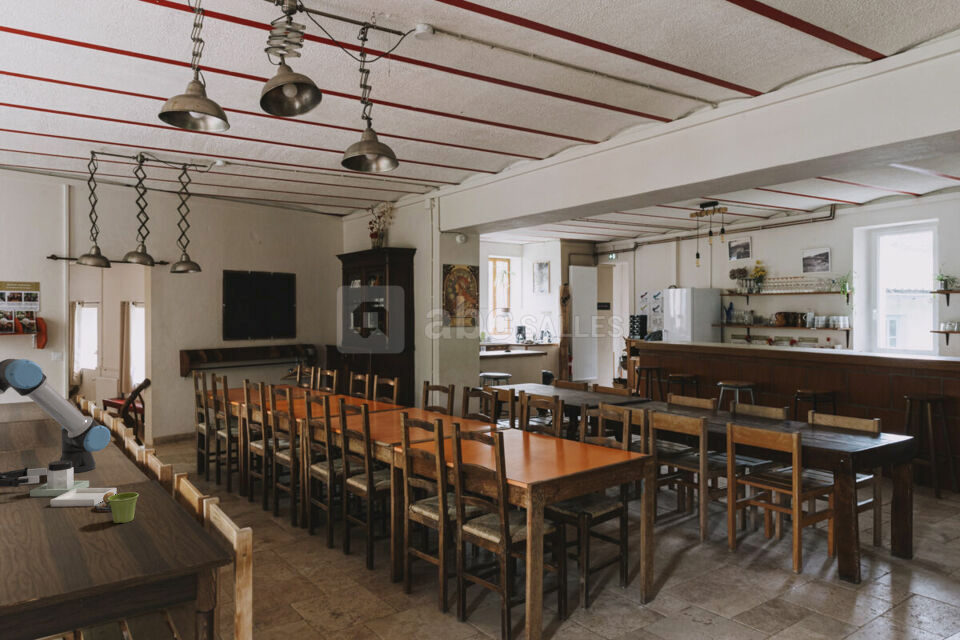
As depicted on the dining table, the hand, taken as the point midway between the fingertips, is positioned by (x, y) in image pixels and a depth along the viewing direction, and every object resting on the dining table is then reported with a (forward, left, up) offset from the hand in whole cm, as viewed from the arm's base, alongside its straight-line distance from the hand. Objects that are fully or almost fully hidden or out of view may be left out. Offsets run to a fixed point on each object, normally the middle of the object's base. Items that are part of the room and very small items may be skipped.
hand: (42, 475), depth 252 cm
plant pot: (+36, +50, -8) cm, 63 cm away
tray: (+10, +22, -7) cm, 26 cm away
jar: (-3, +5, -8) cm, 10 cm away
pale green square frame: (-3, +5, -7) cm, 9 cm away
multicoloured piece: (+20, +38, -8) cm, 44 cm away
